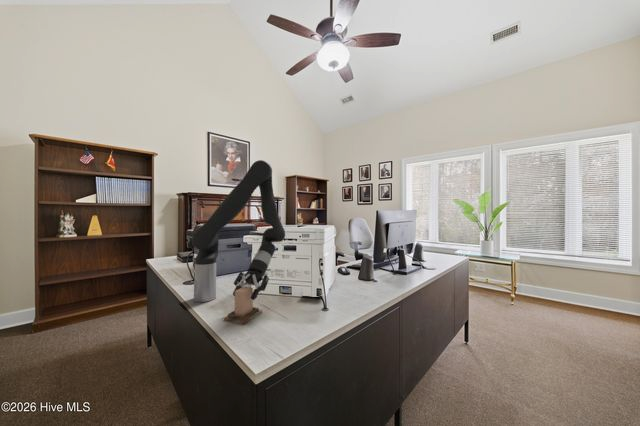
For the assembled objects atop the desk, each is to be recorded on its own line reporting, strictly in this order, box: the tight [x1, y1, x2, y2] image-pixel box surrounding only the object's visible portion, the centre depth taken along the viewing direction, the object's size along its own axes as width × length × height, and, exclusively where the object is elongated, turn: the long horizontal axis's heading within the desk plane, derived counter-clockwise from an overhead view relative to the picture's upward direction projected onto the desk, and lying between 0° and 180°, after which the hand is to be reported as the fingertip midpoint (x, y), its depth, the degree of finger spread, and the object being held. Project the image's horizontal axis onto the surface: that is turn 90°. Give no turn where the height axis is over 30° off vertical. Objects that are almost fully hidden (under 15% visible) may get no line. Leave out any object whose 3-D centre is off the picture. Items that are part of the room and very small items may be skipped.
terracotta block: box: [234, 286, 254, 317], centre depth 96 cm, size 4×6×10 cm, turn 158°
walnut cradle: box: [223, 306, 263, 326], centre depth 96 cm, size 10×12×3 cm
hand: (243, 297), depth 96 cm, fingers open, 8 cm apart
